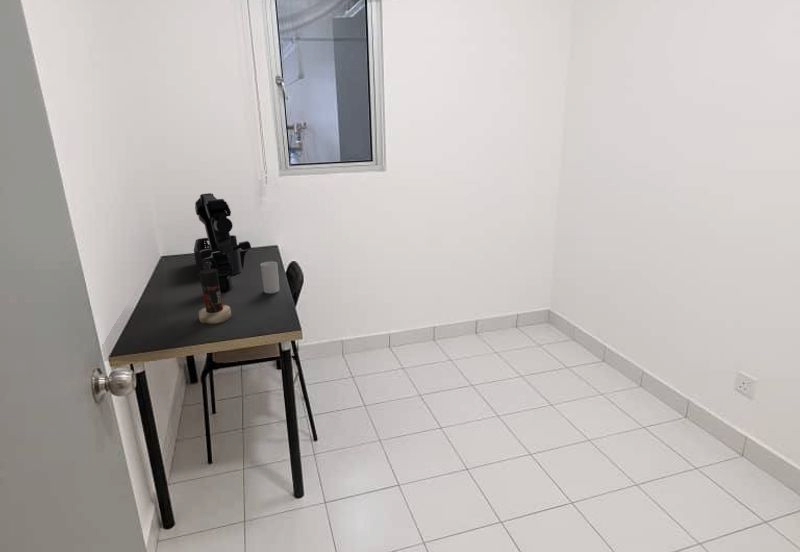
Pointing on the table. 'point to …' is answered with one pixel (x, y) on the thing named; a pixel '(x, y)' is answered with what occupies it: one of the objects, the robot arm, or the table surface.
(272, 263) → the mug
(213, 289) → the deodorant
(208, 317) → the beige round flatbread
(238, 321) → the table surface
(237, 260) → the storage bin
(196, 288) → the table surface
